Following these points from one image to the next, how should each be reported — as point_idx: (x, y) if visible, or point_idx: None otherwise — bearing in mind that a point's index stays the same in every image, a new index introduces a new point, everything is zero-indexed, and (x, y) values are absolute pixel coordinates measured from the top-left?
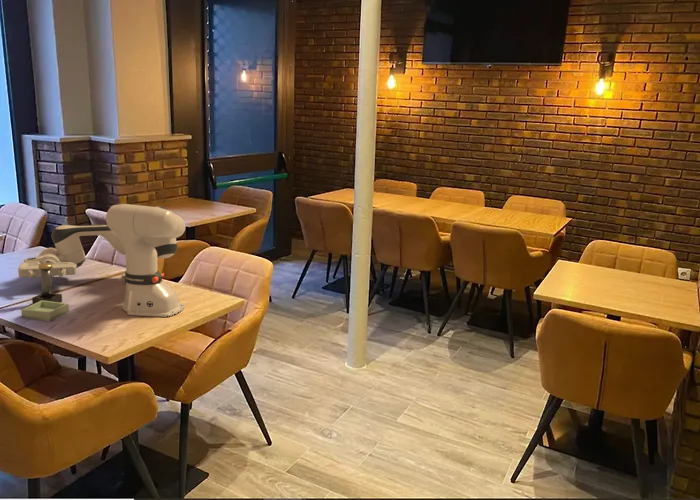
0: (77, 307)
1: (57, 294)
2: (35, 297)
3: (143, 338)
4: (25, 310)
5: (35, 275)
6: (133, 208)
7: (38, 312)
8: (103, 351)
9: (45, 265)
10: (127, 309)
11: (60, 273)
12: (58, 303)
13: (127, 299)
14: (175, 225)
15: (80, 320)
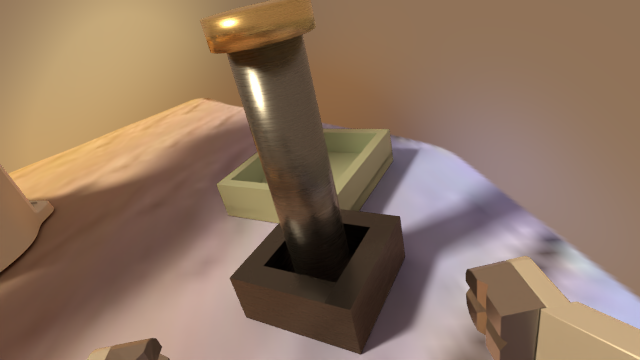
0: (185, 252)
1: (256, 273)
2: (382, 222)
3: (113, 135)
4: (372, 129)
5: (490, 330)
6: None
7: (323, 130)
8: (199, 103)
9: (254, 4)
10: (35, 212)
11: (134, 346)
12: (256, 182)
13: (6, 185)
14: None
15: (205, 170)
